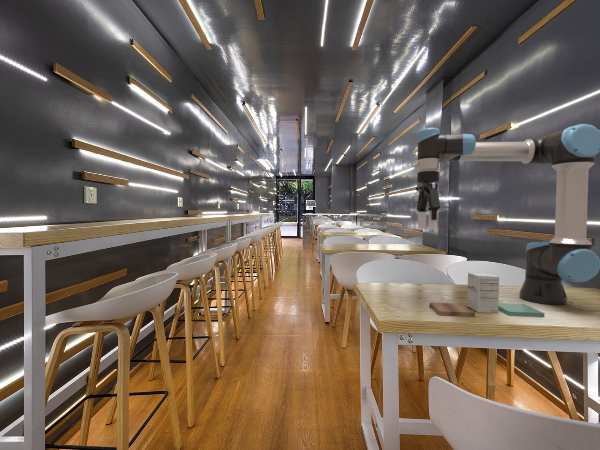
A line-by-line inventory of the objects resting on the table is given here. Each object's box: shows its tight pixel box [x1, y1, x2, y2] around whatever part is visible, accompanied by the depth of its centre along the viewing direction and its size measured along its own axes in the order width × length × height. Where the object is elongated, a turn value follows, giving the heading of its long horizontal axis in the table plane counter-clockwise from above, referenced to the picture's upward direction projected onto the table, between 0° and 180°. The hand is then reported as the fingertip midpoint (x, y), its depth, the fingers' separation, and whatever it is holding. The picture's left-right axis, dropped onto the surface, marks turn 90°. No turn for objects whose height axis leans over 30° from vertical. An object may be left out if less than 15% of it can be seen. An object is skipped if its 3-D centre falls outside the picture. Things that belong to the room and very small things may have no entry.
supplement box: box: [466, 271, 500, 314], centre depth 113 cm, size 7×7×13 cm
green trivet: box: [498, 302, 545, 318], centre depth 111 cm, size 11×11×2 cm
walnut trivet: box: [429, 302, 476, 318], centre depth 110 cm, size 11×11×2 cm
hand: (427, 229), depth 119 cm, fingers open, 13 cm apart
